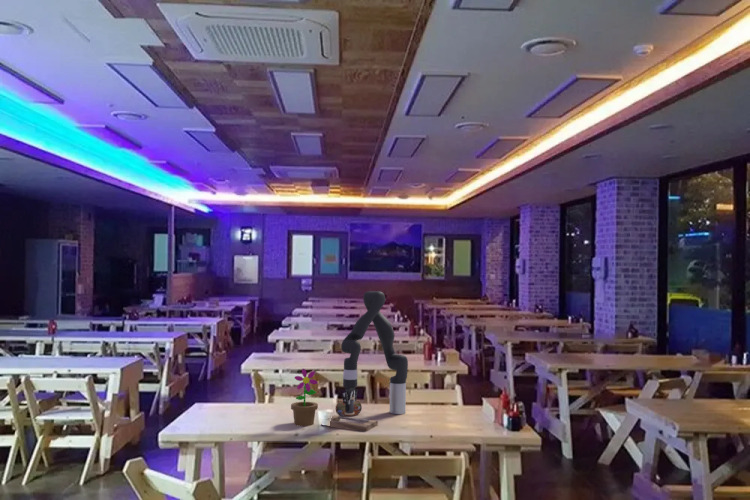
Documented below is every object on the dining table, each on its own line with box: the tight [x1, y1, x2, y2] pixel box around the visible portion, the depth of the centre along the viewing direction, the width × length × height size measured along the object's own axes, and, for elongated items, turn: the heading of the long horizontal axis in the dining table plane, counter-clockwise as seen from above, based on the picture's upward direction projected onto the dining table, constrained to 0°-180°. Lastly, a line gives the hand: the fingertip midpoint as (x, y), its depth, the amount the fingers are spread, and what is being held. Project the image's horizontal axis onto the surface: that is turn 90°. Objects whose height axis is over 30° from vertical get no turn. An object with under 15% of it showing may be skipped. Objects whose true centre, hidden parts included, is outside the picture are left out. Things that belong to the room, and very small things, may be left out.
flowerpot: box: [290, 368, 319, 427], centre depth 349 cm, size 14×14×30 cm
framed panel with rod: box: [330, 414, 379, 432], centre depth 347 cm, size 14×26×2 cm, turn 65°
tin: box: [335, 400, 363, 417], centre depth 369 cm, size 15×3×8 cm, turn 112°
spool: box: [345, 397, 355, 416], centre depth 347 cm, size 5×5×9 cm
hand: (349, 410), depth 347 cm, fingers closed on spool, 4 cm apart
